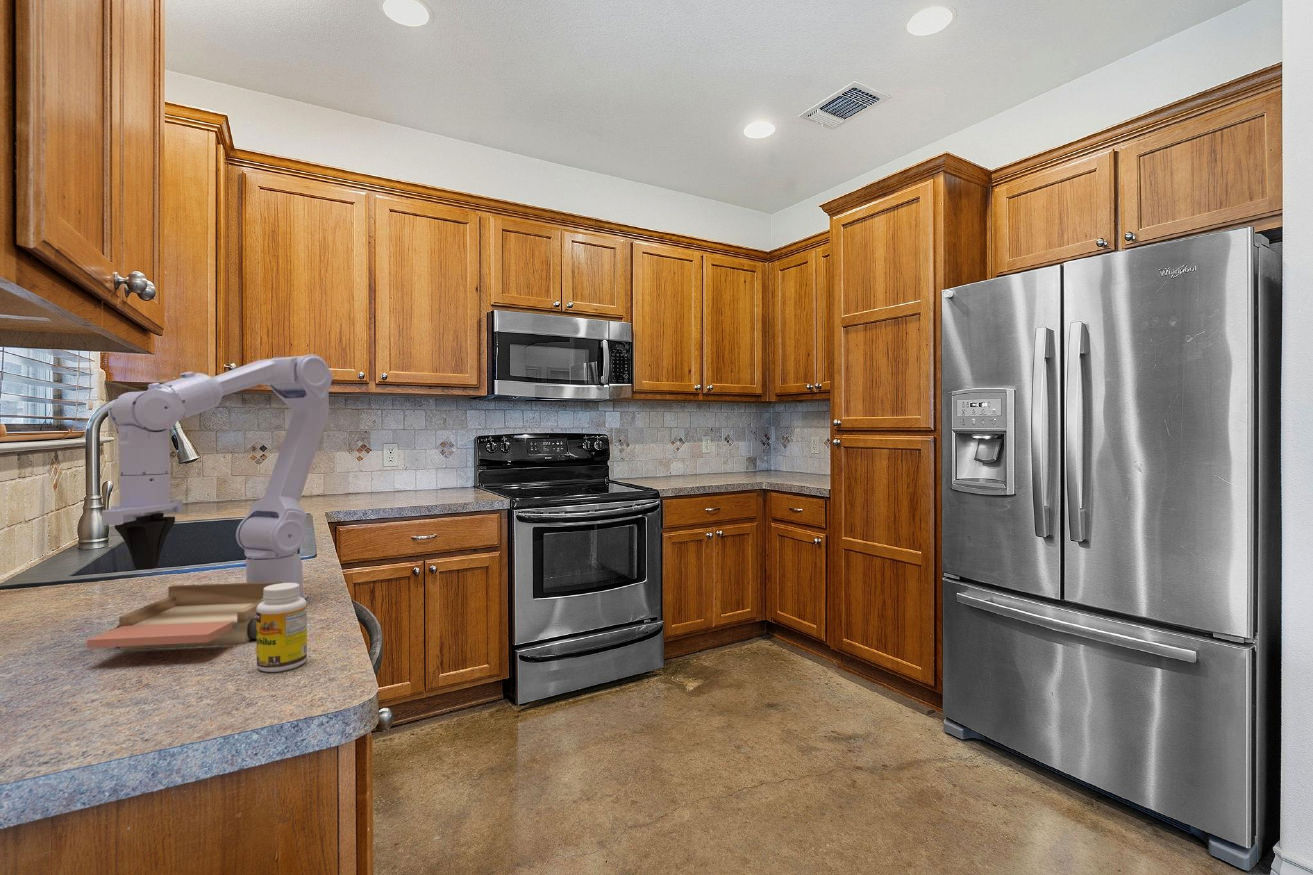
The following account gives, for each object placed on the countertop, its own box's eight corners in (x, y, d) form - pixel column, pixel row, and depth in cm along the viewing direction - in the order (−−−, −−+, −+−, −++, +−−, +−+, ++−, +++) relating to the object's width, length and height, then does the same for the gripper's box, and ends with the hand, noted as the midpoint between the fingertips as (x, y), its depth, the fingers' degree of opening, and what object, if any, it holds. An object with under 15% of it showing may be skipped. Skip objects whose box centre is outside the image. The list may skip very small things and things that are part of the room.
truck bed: (164, 624, 99) (164, 585, 99) (289, 618, 102) (289, 581, 102) (110, 650, 87) (110, 606, 87) (253, 643, 90) (253, 600, 90)
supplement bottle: (247, 668, 80) (246, 588, 80) (291, 655, 85) (290, 579, 85) (272, 677, 77) (271, 593, 77) (316, 662, 82) (315, 583, 82)
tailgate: (122, 625, 87) (85, 640, 80) (236, 620, 89) (209, 634, 82) (122, 632, 87) (85, 648, 80) (236, 627, 89) (209, 642, 82)
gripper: (146, 471, 98) (147, 559, 98) (75, 478, 83) (76, 581, 83) (196, 470, 99) (197, 557, 99) (135, 477, 84) (136, 579, 84)
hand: (146, 568), depth 91 cm, fingers closed
